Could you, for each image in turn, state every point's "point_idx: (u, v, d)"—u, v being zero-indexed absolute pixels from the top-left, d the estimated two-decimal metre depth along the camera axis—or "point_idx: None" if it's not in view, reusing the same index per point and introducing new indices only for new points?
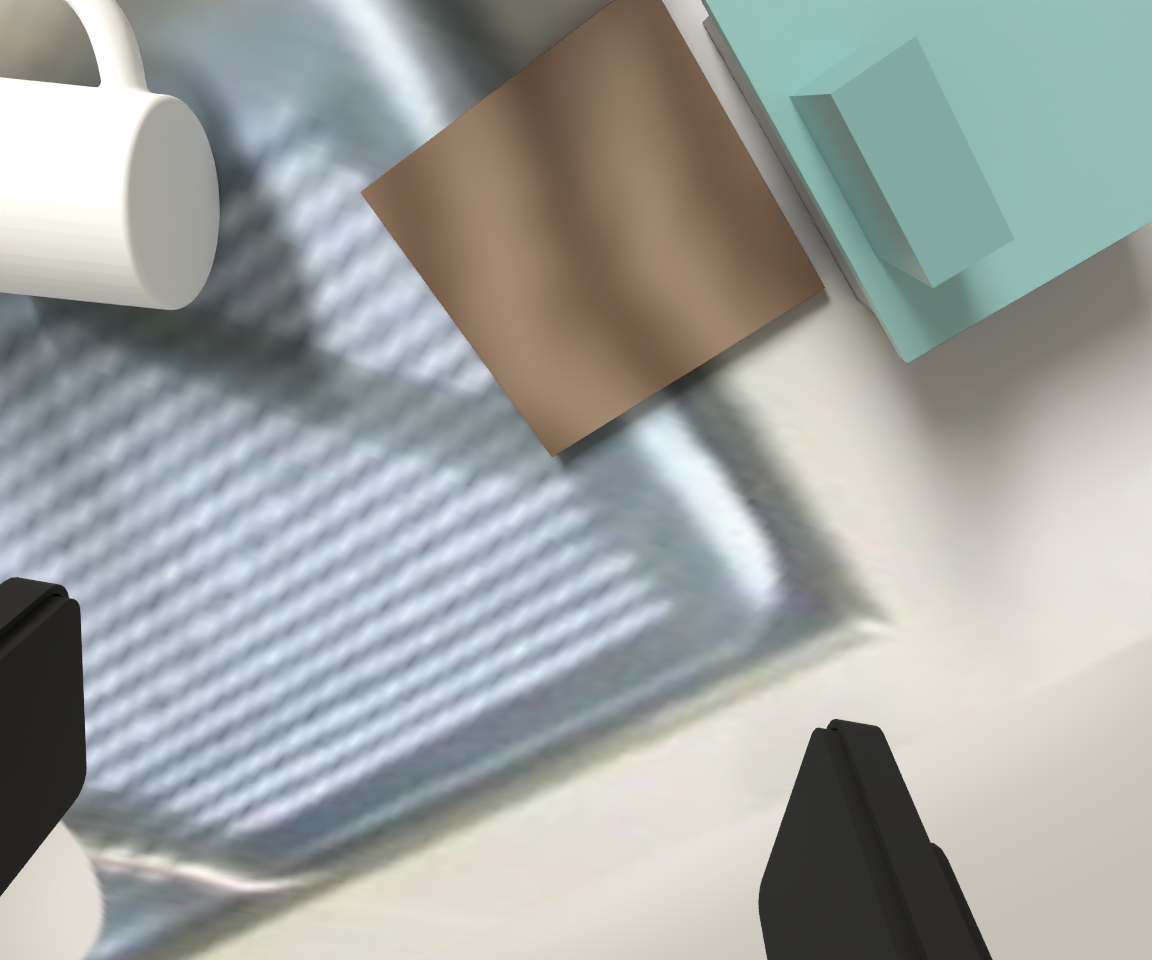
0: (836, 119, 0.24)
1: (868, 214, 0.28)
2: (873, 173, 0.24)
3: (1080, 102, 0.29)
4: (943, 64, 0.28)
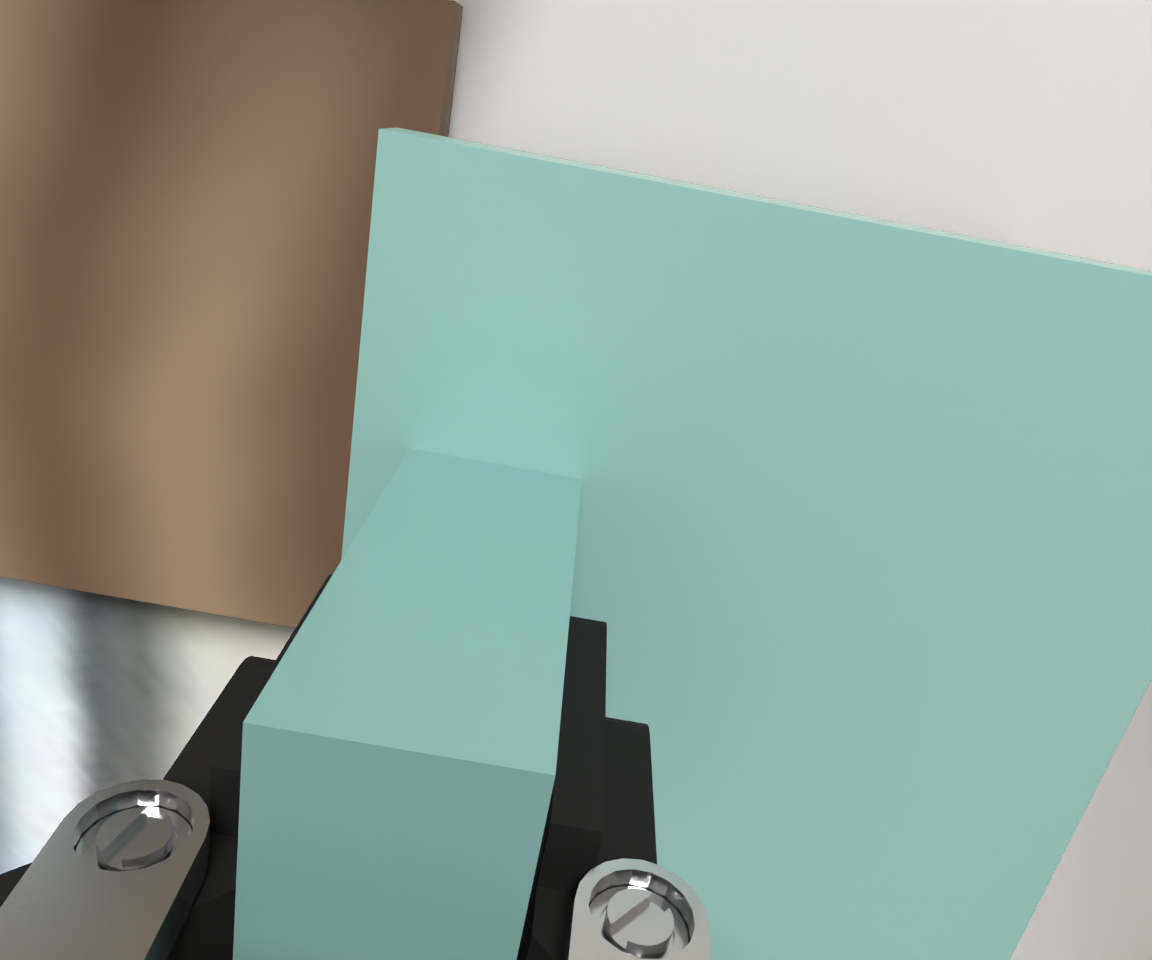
0: None
1: None
2: (237, 945, 0.08)
3: (834, 831, 0.15)
4: (695, 619, 0.13)
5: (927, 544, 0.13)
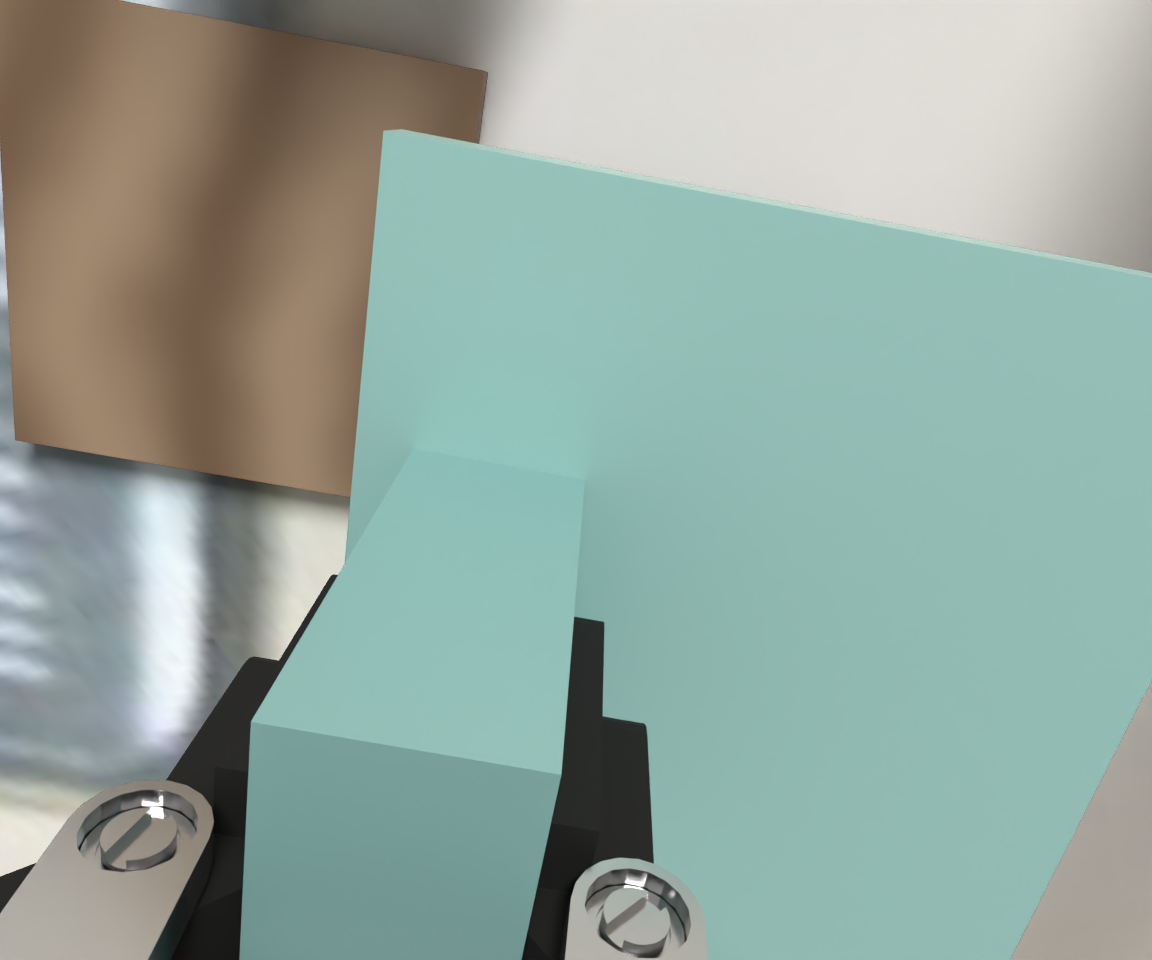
0: None
1: None
2: (244, 943, 0.08)
3: (835, 830, 0.15)
4: (697, 620, 0.13)
5: (929, 544, 0.13)
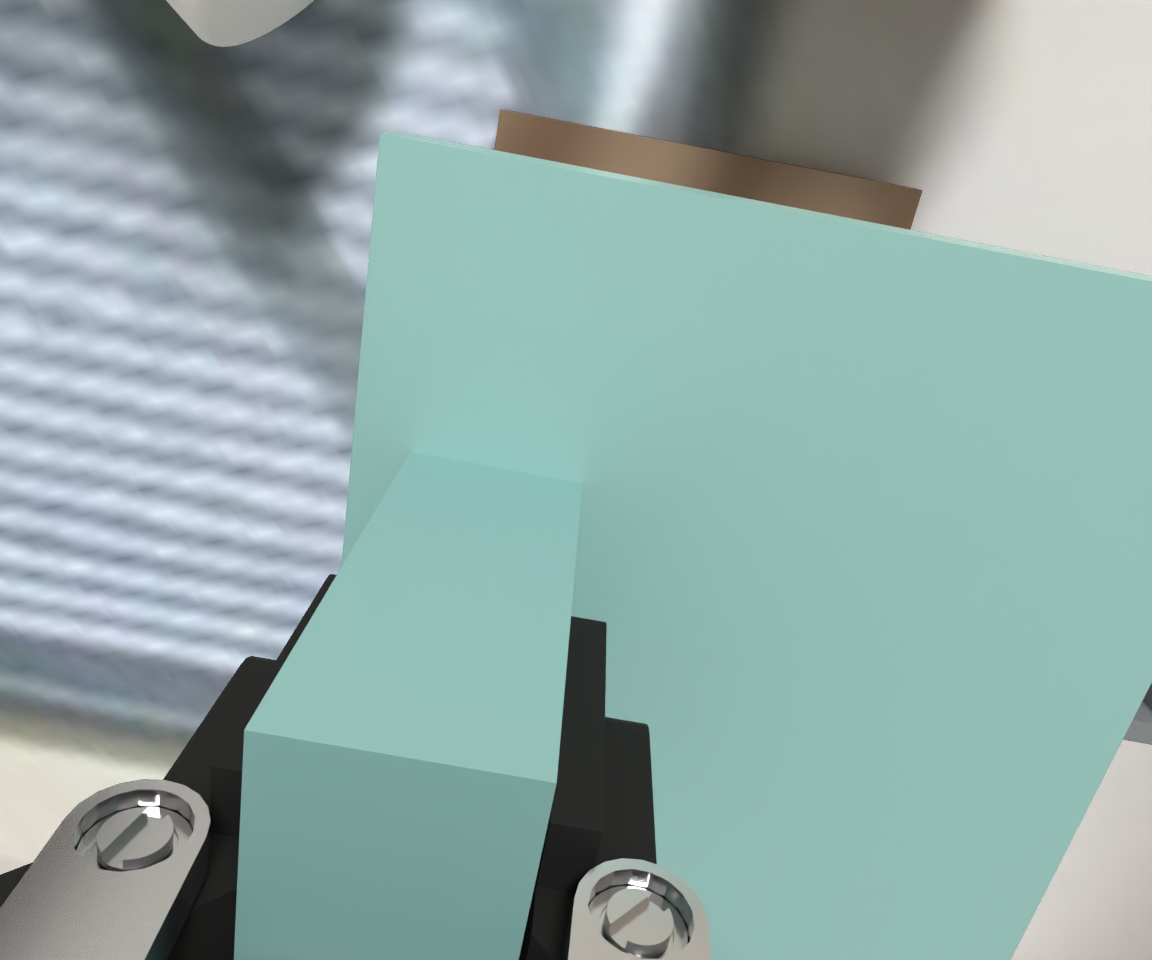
0: None
1: None
2: (239, 952, 0.08)
3: (833, 834, 0.15)
4: (695, 623, 0.13)
5: (927, 549, 0.13)
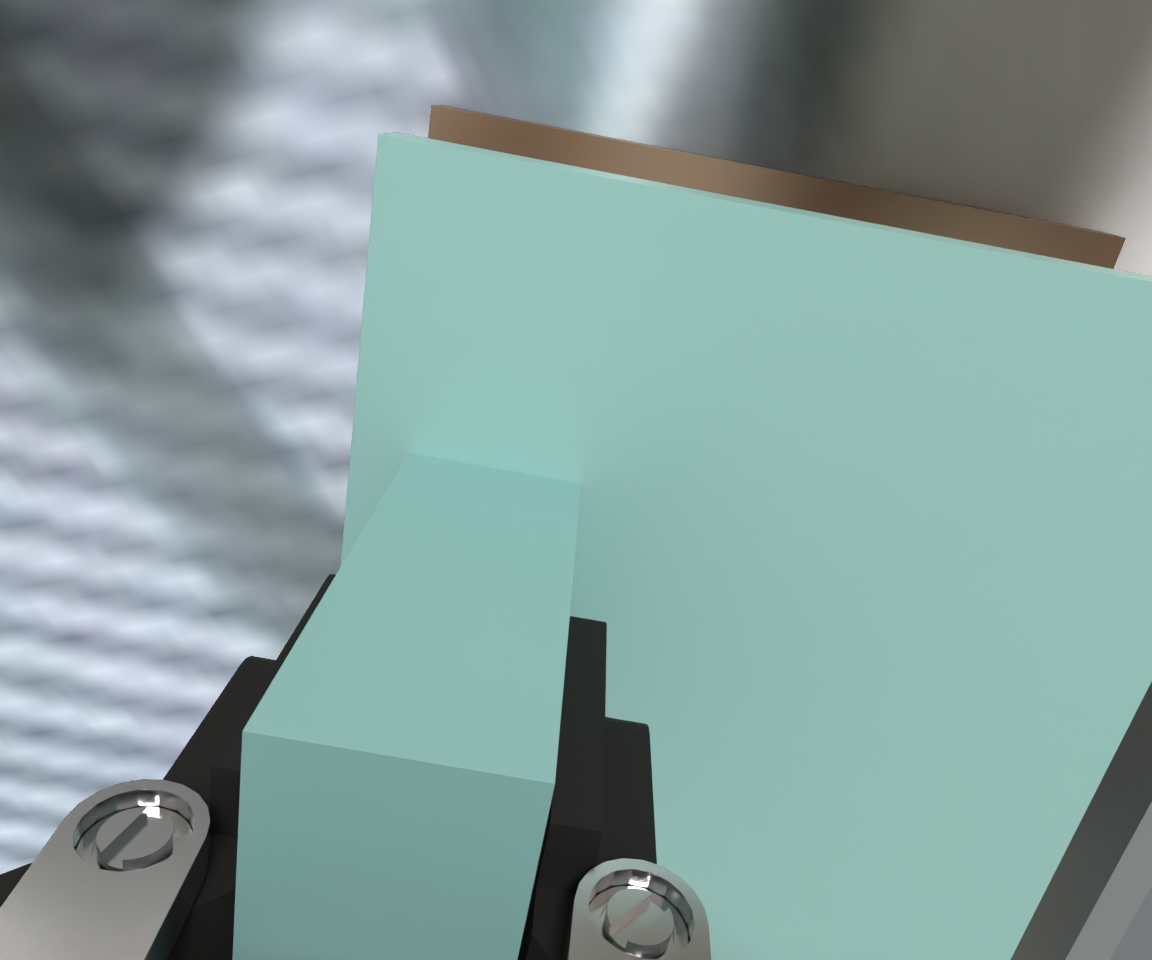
0: None
1: None
2: (236, 953, 0.08)
3: (833, 835, 0.15)
4: (694, 624, 0.13)
5: (926, 549, 0.13)
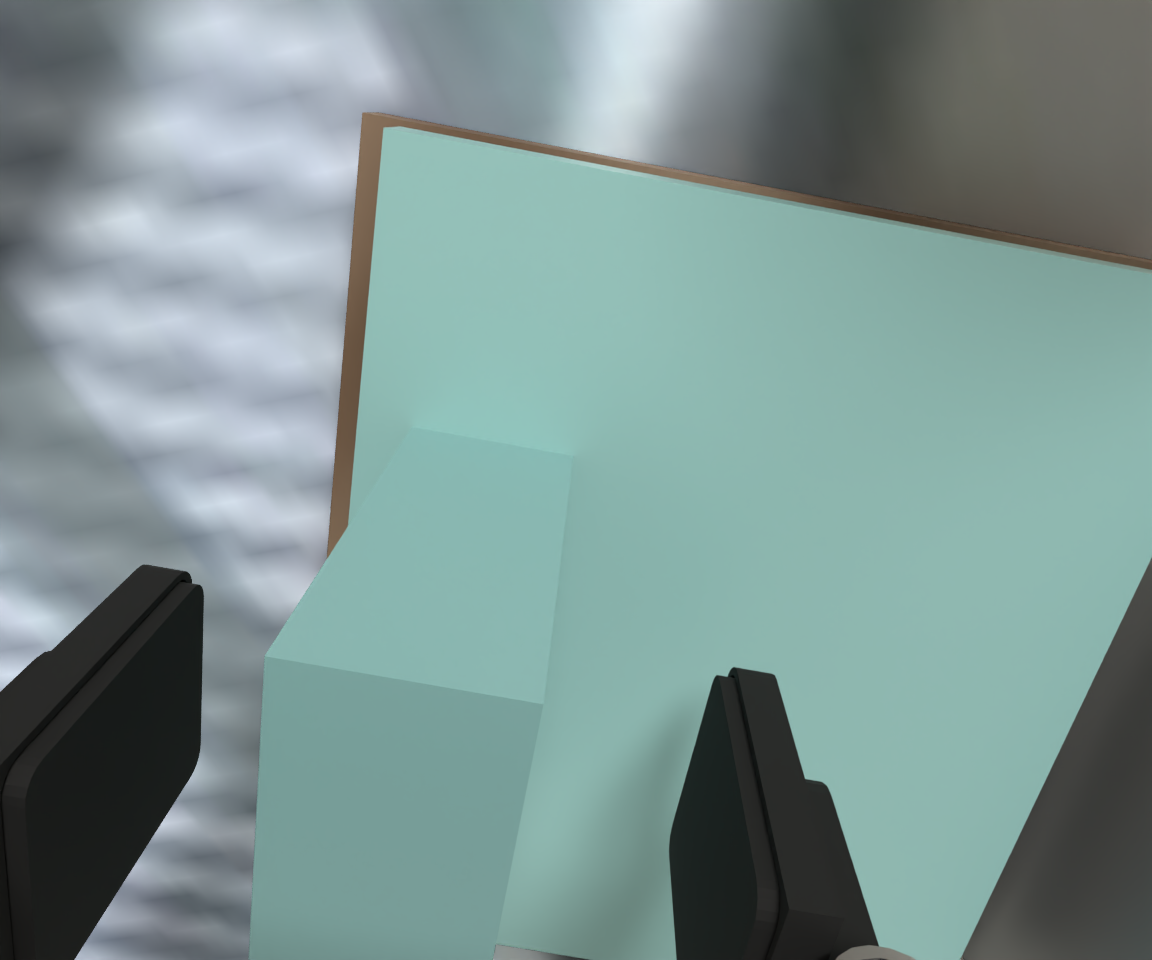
0: None
1: None
2: (258, 864, 0.09)
3: None
4: (680, 590, 0.14)
5: (897, 517, 0.13)
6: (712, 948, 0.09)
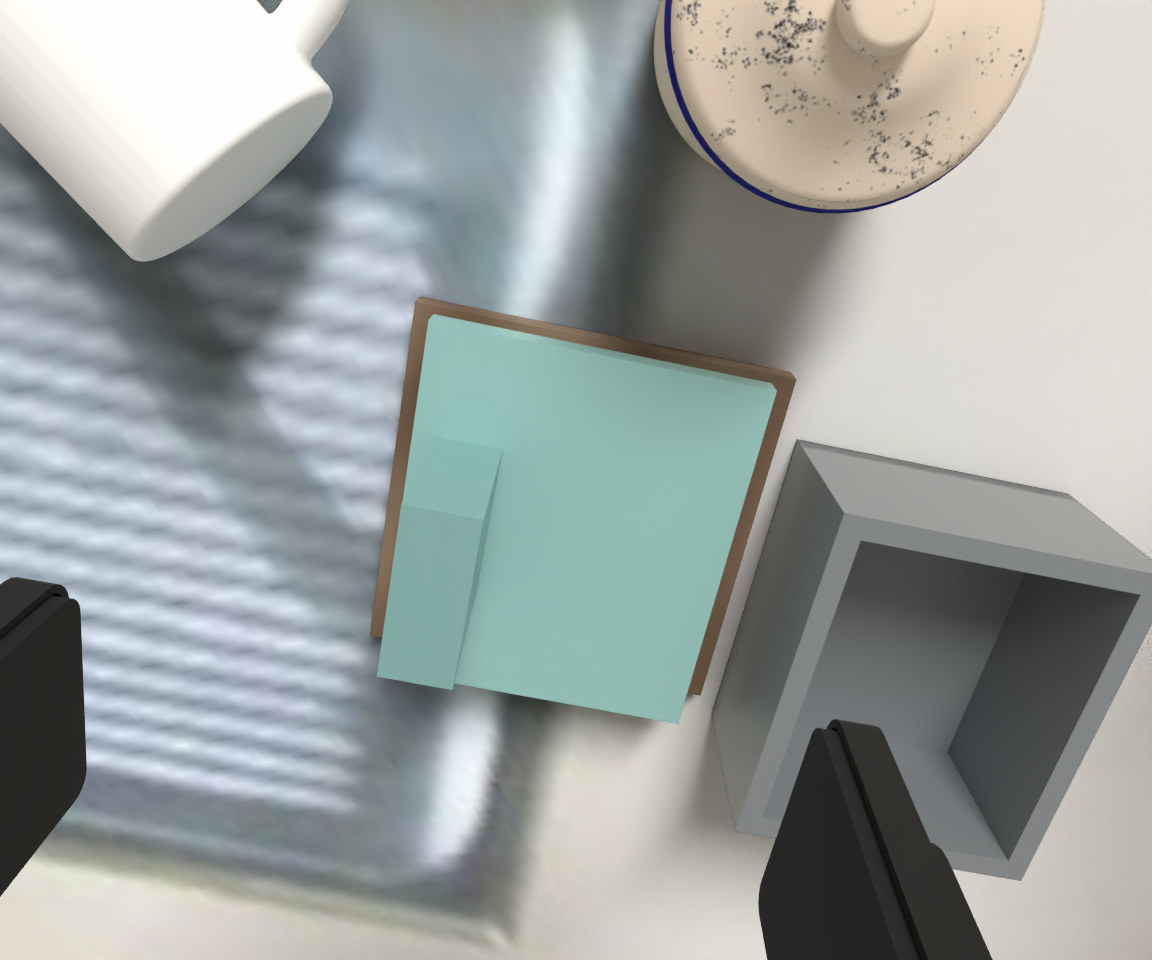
0: None
1: None
2: (392, 575, 0.27)
3: (612, 604, 0.34)
4: (549, 508, 0.33)
5: (638, 477, 0.32)
6: None
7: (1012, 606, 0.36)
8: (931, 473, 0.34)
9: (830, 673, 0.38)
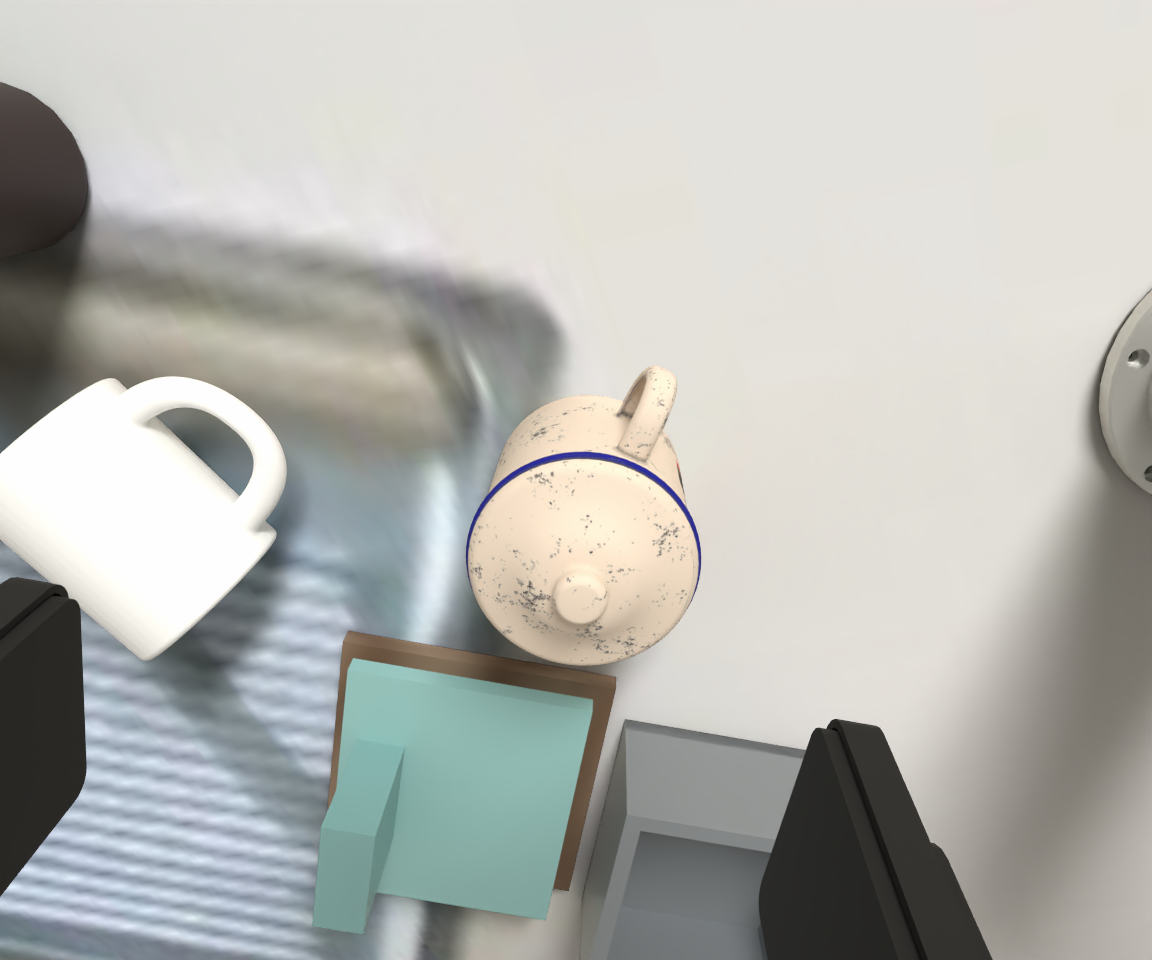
0: None
1: None
2: (318, 867, 0.40)
3: (490, 843, 0.47)
4: (440, 783, 0.46)
5: (501, 764, 0.45)
6: None
7: None
8: (720, 746, 0.47)
9: (664, 875, 0.51)
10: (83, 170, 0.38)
